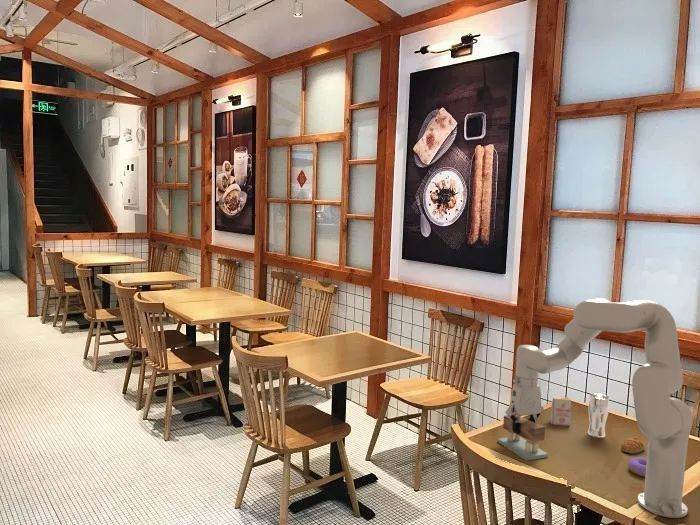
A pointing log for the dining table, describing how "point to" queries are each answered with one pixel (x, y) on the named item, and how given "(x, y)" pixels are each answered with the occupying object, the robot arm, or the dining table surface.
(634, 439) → the pastry
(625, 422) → the dining table surface
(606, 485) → the dining table surface
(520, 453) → the peg board
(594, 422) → the beer glass
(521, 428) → the plank
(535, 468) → the dining table surface
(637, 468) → the donut
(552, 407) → the white printed box
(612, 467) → the dining table surface
